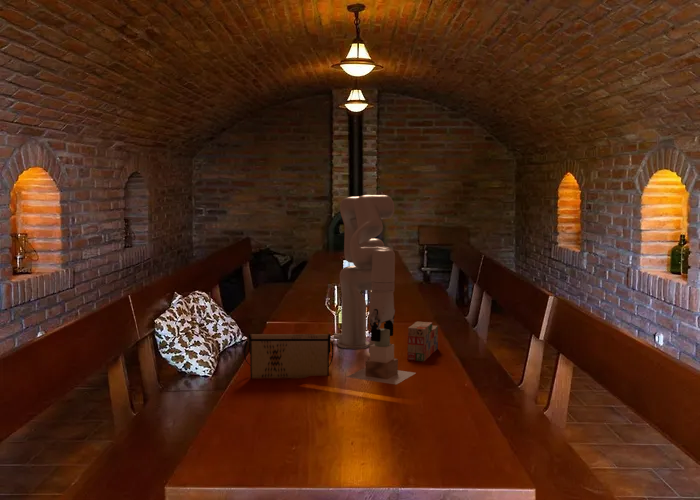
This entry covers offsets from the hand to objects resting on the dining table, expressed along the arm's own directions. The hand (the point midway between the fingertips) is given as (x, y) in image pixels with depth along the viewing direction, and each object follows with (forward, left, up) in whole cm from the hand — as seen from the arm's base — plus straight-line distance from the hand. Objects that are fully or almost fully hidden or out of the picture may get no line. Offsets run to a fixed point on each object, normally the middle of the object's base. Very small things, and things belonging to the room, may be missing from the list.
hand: (382, 338), depth 243 cm
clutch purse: (-28, -13, -14) cm, 34 cm away
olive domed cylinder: (0, 0, -2) cm, 2 cm away
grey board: (0, 0, -14) cm, 14 cm away
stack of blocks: (-1, +38, -14) cm, 41 cm away
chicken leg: (-11, +21, -14) cm, 27 cm away
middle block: (0, 0, -7) cm, 7 cm away
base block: (0, 0, -12) cm, 12 cm away
